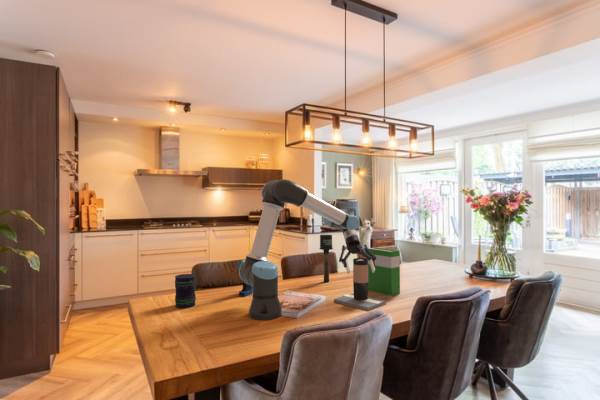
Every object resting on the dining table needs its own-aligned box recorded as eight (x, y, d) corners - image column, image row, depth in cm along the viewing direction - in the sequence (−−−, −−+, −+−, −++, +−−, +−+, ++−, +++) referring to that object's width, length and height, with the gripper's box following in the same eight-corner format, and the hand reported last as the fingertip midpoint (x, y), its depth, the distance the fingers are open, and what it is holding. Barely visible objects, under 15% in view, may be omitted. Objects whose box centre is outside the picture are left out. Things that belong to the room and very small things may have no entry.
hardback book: (366, 289, 205) (366, 248, 205) (375, 287, 209) (374, 247, 209) (391, 295, 191) (391, 251, 191) (399, 293, 195) (399, 250, 195)
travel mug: (366, 296, 184) (366, 258, 184) (369, 300, 176) (369, 260, 176) (352, 296, 184) (351, 258, 184) (354, 300, 176) (354, 260, 176)
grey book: (368, 310, 165) (368, 306, 165) (334, 301, 180) (333, 298, 180) (385, 303, 176) (385, 300, 176) (351, 296, 191) (351, 292, 191)
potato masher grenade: (322, 283, 220) (321, 235, 220) (318, 280, 228) (317, 234, 228) (335, 282, 222) (334, 235, 222) (330, 279, 230) (329, 234, 230)
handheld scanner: (235, 296, 192) (235, 260, 191) (252, 289, 206) (253, 256, 206) (242, 297, 189) (242, 261, 189) (259, 291, 204) (259, 257, 204)
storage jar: (200, 304, 178) (199, 275, 178) (184, 309, 170) (184, 278, 170) (186, 301, 183) (186, 273, 183) (170, 306, 175) (170, 276, 175)
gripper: (371, 242, 200) (382, 274, 185) (328, 244, 196) (336, 276, 181) (374, 234, 195) (386, 266, 180) (331, 235, 190) (339, 268, 176)
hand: (361, 271), depth 180 cm, fingers open, 13 cm apart
